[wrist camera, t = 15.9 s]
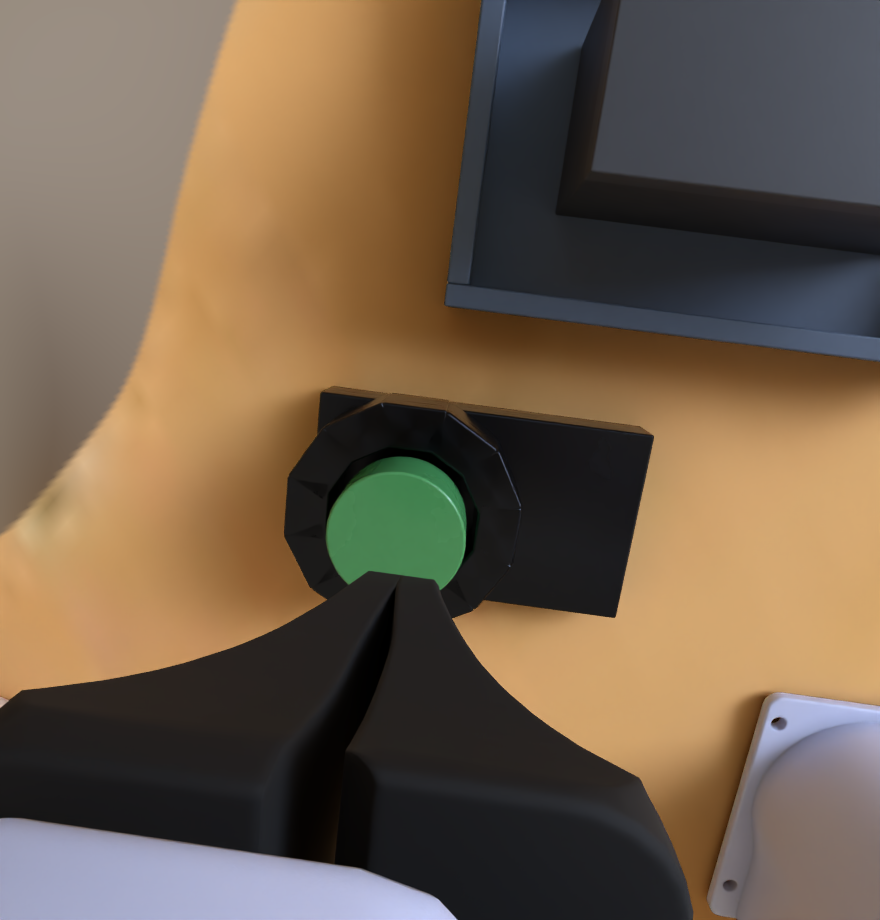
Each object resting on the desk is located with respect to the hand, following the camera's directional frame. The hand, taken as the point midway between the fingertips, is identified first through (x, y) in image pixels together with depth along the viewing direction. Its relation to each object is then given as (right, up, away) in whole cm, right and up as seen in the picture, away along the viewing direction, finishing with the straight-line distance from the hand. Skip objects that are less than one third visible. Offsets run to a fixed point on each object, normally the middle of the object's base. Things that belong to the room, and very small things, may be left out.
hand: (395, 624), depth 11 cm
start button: (0, +1, +6) cm, 6 cm away
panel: (+2, +2, +9) cm, 9 cm away
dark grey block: (+9, +12, +6) cm, 16 cm away
